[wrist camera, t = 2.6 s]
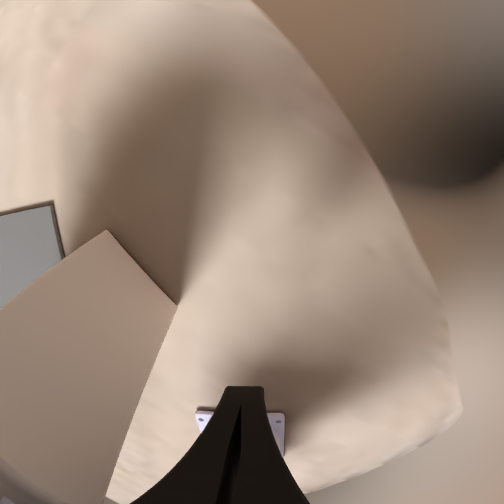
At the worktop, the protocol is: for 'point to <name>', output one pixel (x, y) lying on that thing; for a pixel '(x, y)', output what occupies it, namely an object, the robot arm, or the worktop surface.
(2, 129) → the worktop surface
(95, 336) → the cream plain cuboid
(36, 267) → the mat
